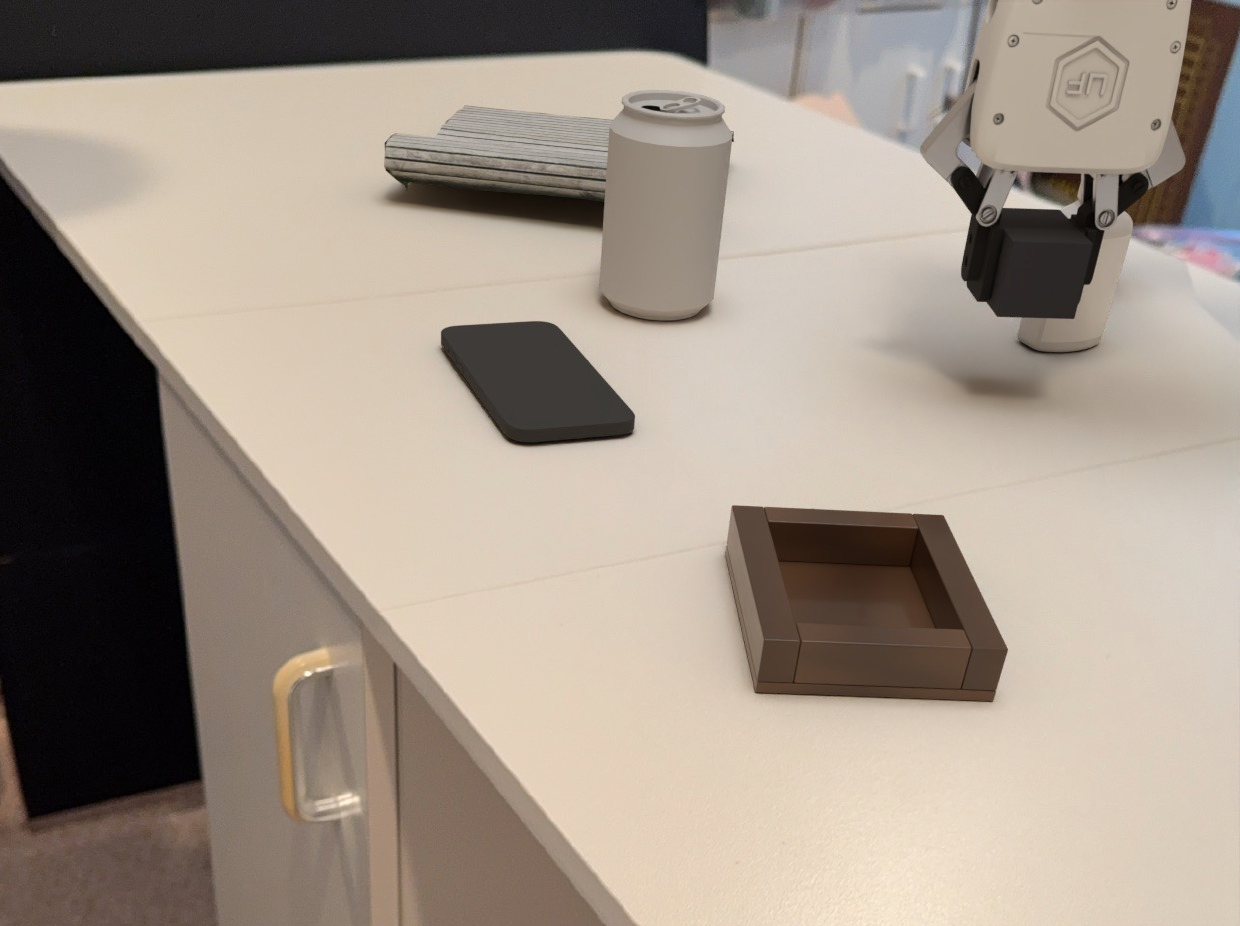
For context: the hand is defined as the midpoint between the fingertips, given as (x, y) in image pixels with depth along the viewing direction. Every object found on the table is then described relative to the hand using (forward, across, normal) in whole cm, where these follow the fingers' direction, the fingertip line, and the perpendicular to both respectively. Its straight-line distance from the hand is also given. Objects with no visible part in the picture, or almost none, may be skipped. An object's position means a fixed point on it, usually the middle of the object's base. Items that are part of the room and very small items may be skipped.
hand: (1022, 292), depth 82 cm
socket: (+6, -14, -28) cm, 32 cm away
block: (0, 0, 0) cm, 0 cm away
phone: (+5, -28, -3) cm, 28 cm away
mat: (+5, -25, +39) cm, 47 cm away
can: (+5, -20, +12) cm, 24 cm away
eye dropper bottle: (+6, +6, +9) cm, 13 cm away
